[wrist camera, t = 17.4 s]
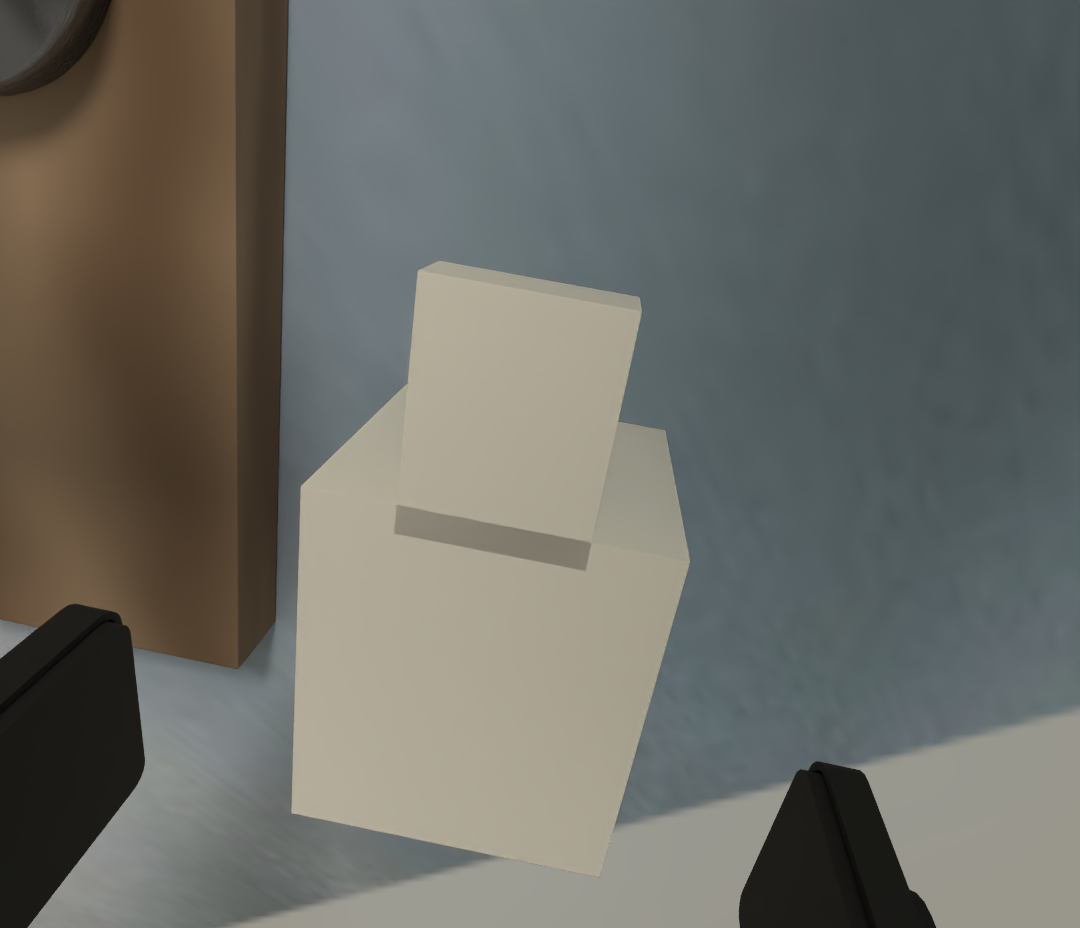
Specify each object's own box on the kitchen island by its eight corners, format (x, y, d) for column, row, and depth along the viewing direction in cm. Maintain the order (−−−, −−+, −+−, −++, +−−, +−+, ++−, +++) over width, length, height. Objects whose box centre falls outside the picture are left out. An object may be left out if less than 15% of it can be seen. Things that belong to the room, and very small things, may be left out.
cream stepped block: (703, 273, 15) (756, 332, 9) (604, 670, 19) (599, 877, 13) (424, 223, 15) (307, 250, 9) (386, 626, 19) (291, 813, 13)
